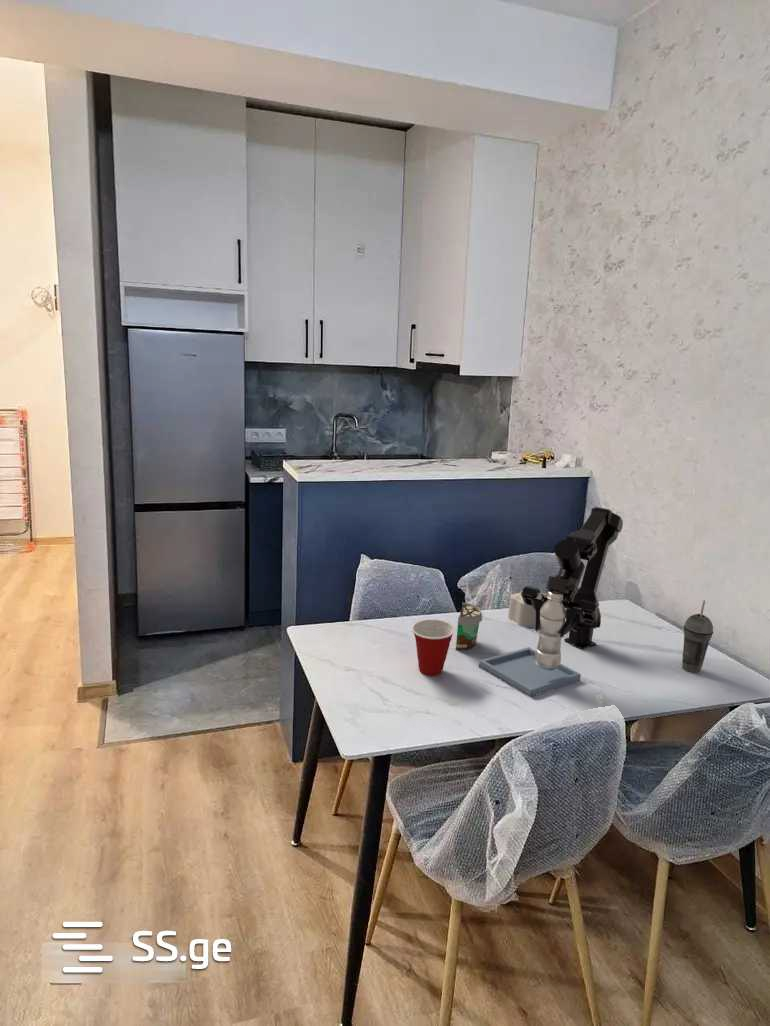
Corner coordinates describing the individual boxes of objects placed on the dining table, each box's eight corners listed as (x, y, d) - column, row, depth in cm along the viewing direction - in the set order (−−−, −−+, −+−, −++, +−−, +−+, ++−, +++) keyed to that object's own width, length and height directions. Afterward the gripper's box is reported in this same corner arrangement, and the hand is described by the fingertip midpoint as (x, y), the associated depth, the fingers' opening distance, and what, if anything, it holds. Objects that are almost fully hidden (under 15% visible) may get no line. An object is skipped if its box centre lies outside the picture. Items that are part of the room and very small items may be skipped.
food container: (477, 655, 187) (481, 620, 185) (455, 651, 188) (458, 617, 186) (481, 637, 199) (484, 604, 196) (459, 634, 200) (462, 601, 198)
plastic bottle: (536, 673, 170) (546, 596, 165) (530, 660, 177) (539, 586, 172) (562, 674, 171) (573, 597, 166) (555, 661, 177) (565, 587, 172)
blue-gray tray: (527, 653, 190) (528, 647, 190) (579, 680, 176) (580, 674, 175) (478, 666, 180) (479, 660, 180) (529, 697, 166) (530, 690, 165)
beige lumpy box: (503, 616, 217) (506, 589, 215) (537, 611, 222) (540, 585, 220) (524, 628, 208) (527, 601, 206) (558, 623, 213) (561, 596, 211)
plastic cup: (399, 667, 177) (402, 623, 174) (431, 658, 183) (435, 615, 180) (427, 685, 168) (431, 638, 166) (460, 674, 175) (464, 630, 172)
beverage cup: (704, 666, 189) (717, 597, 184) (707, 678, 182) (720, 606, 177) (675, 661, 191) (687, 592, 186) (677, 672, 184) (689, 601, 180)
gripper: (527, 555, 175) (506, 609, 169) (601, 571, 166) (582, 629, 159) (535, 577, 184) (515, 629, 177) (606, 593, 174) (588, 649, 168)
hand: (548, 633), depth 170 cm, fingers closed on plastic bottle, 6 cm apart
